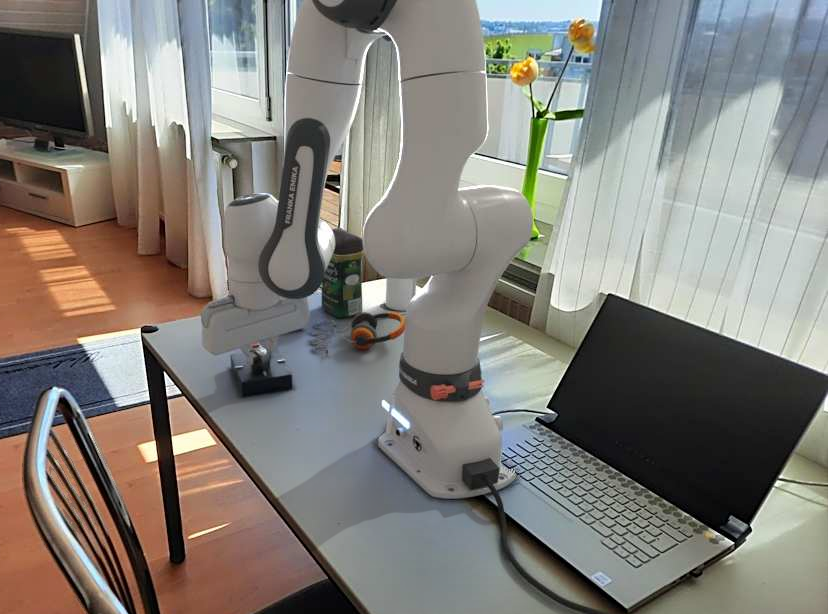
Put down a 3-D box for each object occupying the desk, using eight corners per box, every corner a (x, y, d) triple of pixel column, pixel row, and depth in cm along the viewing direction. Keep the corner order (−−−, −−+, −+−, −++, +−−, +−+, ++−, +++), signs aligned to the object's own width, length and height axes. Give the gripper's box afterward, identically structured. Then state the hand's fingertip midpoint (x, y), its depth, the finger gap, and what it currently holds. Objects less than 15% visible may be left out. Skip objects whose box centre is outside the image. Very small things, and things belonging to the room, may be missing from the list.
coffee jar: (316, 307, 150) (314, 228, 141) (345, 300, 153) (346, 223, 145) (337, 322, 142) (337, 240, 134) (367, 314, 146) (369, 234, 138)
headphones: (310, 312, 140) (401, 294, 138) (316, 333, 142) (406, 316, 140) (302, 347, 125) (405, 328, 123) (309, 371, 128) (410, 352, 125)
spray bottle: (420, 305, 151) (425, 229, 143) (401, 313, 147) (405, 236, 139) (398, 297, 156) (401, 223, 147) (379, 305, 151) (381, 229, 143)
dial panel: (293, 389, 116) (292, 373, 115) (241, 397, 113) (240, 381, 112) (278, 361, 125) (277, 347, 124) (230, 368, 123) (229, 353, 121)
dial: (270, 368, 117) (269, 352, 115) (262, 370, 116) (261, 354, 114) (258, 357, 120) (257, 341, 119) (250, 359, 120) (249, 343, 118)
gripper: (209, 310, 103) (216, 385, 110) (313, 281, 115) (315, 351, 121) (190, 298, 108) (199, 371, 114) (293, 272, 119) (295, 339, 126)
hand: (259, 361), depth 118 cm, fingers closed, pressing on dial
